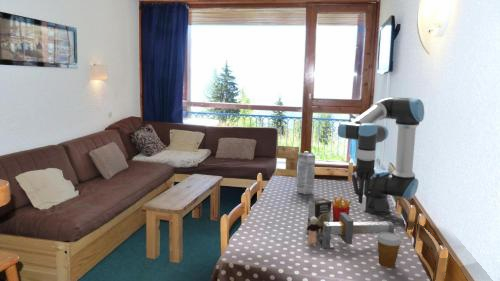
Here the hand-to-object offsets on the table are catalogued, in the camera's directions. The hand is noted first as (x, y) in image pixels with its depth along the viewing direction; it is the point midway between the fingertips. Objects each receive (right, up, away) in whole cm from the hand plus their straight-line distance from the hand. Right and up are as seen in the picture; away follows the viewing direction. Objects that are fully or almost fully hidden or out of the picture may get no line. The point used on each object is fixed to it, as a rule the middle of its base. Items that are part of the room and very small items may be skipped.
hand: (362, 209), depth 179 cm
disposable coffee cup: (+5, -19, -18) cm, 27 cm away
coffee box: (-18, -14, +12) cm, 26 cm away
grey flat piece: (-8, -13, -1) cm, 15 cm away
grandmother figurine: (-22, -15, 0) cm, 27 cm away
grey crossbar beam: (-2, -16, 0) cm, 16 cm away
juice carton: (-15, -3, +78) cm, 80 cm away
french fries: (-5, -12, +23) cm, 26 cm away
